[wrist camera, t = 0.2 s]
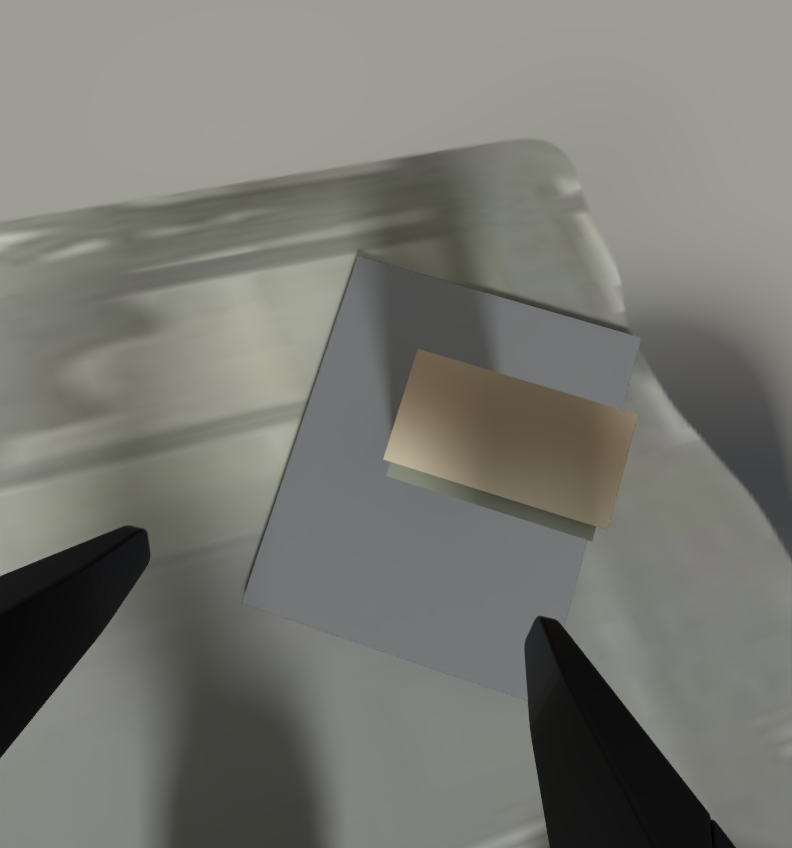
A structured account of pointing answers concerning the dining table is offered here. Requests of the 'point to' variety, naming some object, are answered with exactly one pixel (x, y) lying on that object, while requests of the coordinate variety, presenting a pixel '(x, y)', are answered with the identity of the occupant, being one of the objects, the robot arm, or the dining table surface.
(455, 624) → the rubber mat
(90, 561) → the robot arm
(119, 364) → the dining table surface
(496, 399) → the brown rectangular block
